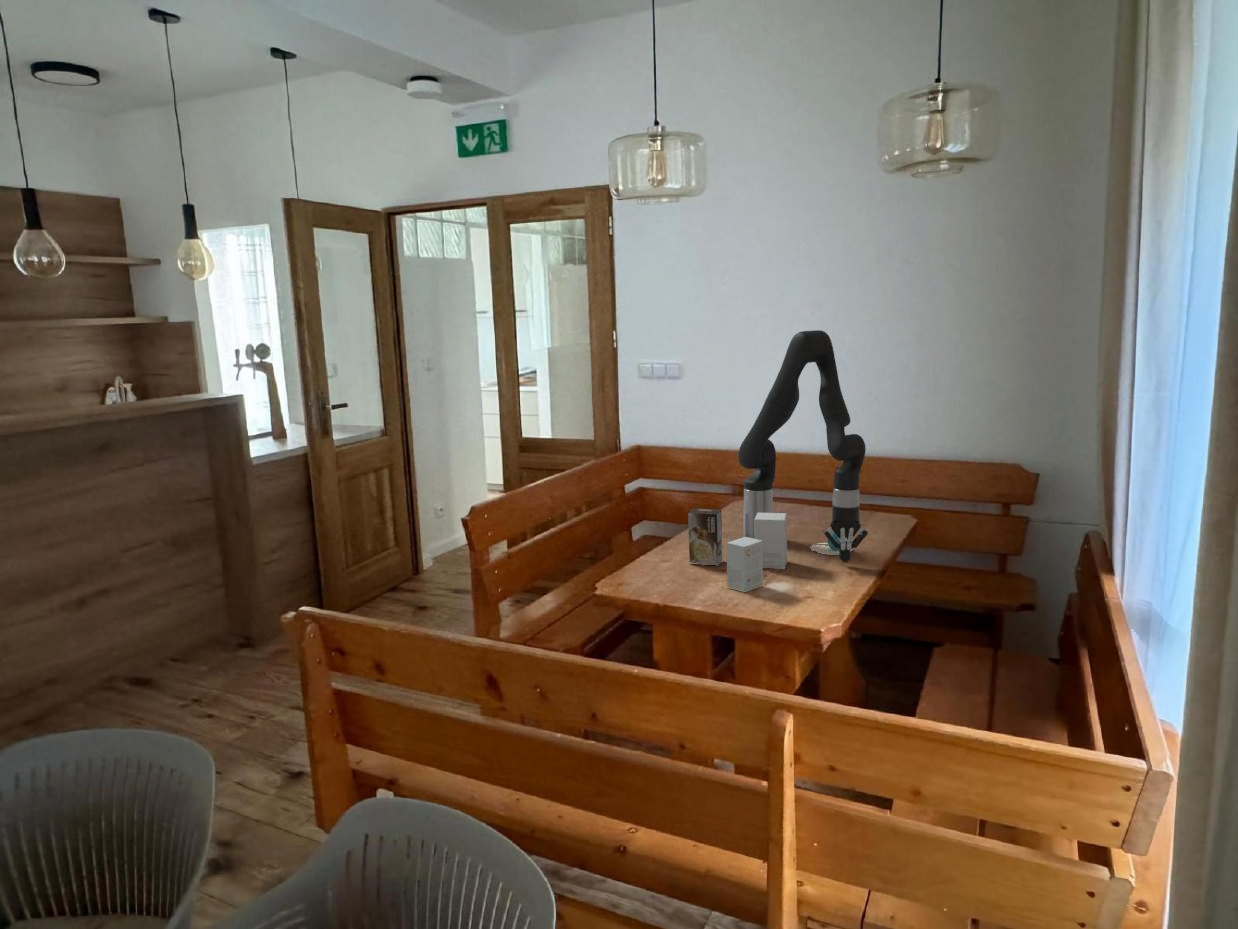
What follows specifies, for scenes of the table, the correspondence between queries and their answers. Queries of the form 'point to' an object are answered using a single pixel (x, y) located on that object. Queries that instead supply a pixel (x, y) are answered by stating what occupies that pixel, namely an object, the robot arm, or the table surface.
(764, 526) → the supplement box
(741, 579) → the small box
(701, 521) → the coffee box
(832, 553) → the disc
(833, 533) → the ball
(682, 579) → the table surface
